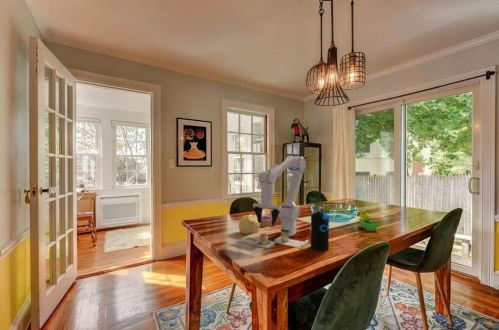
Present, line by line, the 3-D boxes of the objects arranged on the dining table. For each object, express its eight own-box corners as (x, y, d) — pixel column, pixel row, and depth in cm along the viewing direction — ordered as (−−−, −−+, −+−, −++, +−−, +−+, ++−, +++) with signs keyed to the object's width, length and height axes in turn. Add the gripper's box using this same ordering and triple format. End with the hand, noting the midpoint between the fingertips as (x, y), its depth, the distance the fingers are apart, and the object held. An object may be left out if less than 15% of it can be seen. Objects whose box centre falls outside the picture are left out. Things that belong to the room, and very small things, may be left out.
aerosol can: (306, 251, 108) (307, 207, 108) (316, 246, 114) (316, 205, 114) (323, 256, 102) (324, 209, 102) (332, 251, 108) (333, 207, 108)
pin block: (247, 240, 122) (247, 236, 122) (275, 246, 114) (275, 242, 114) (237, 245, 115) (238, 240, 115) (267, 251, 107) (267, 247, 107)
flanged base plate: (282, 240, 123) (282, 235, 123) (309, 245, 115) (309, 240, 115) (274, 245, 115) (274, 239, 115) (302, 251, 108) (302, 245, 108)
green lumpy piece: (379, 231, 141) (379, 212, 141) (364, 231, 141) (364, 212, 141) (370, 226, 152) (370, 209, 152) (356, 226, 153) (356, 208, 153)
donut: (257, 221, 163) (257, 214, 163) (277, 223, 158) (278, 216, 158) (250, 226, 150) (250, 218, 150) (271, 229, 145) (272, 220, 145)
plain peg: (283, 239, 120) (283, 227, 120) (290, 240, 118) (290, 228, 118) (279, 241, 116) (279, 229, 116) (287, 243, 114) (287, 230, 114)
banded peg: (257, 247, 113) (258, 234, 113) (263, 245, 115) (263, 232, 115) (264, 249, 110) (264, 236, 110) (269, 247, 113) (270, 234, 112)
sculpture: (256, 237, 127) (256, 217, 127) (235, 235, 131) (235, 215, 131) (262, 232, 138) (262, 213, 138) (242, 229, 142) (243, 211, 142)
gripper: (250, 195, 118) (249, 223, 118) (276, 198, 110) (276, 227, 110) (257, 194, 124) (256, 220, 124) (283, 196, 116) (282, 224, 116)
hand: (266, 223), depth 117 cm, fingers open, 7 cm apart
